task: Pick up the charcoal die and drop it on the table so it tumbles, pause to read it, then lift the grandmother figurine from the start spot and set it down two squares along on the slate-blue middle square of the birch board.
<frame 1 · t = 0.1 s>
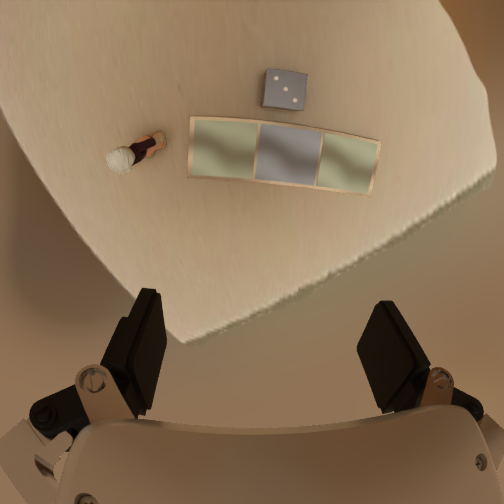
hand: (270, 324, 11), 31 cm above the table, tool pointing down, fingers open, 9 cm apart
board: (287, 153, 37), on the table
die: (280, 92, 33), on the table
grandmother figurine: (151, 146, 36), on the table
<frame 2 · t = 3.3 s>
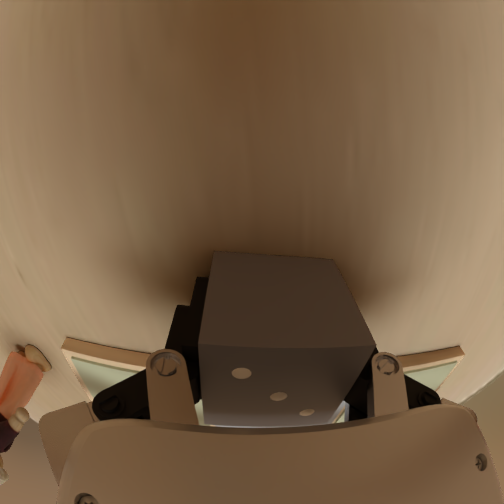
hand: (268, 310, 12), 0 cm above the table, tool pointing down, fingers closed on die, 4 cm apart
board: (278, 402, 17), on the table
die: (267, 303, 12), on the table, touching gripper
grandmother figurine: (32, 358, 15), on the table
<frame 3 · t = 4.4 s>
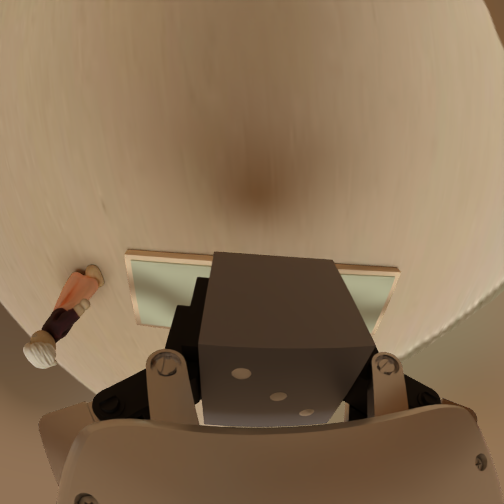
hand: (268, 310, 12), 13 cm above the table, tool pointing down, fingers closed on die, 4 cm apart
board: (265, 297, 28), on the table
die: (267, 303, 12), point 13 cm above the table, touching gripper
grandmother figurine: (87, 280, 27), on the table
when the fingers open (10 cm above the table, at t = 5.6 s): die drops 10 cm, on the table.
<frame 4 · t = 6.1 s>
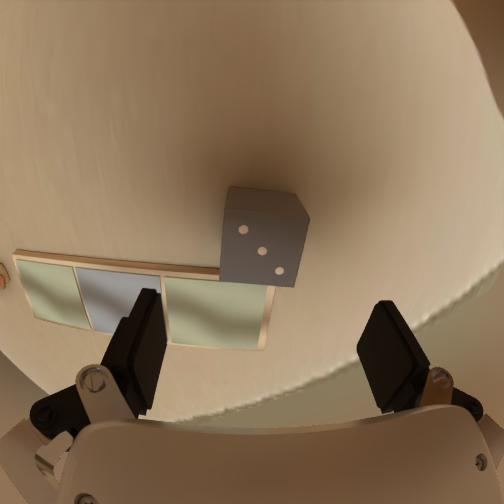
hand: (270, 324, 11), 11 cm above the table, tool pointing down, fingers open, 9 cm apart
board: (125, 300, 24), on the table
die: (258, 220, 21), on the table
grandmother figurine: (0, 276, 23), on the table
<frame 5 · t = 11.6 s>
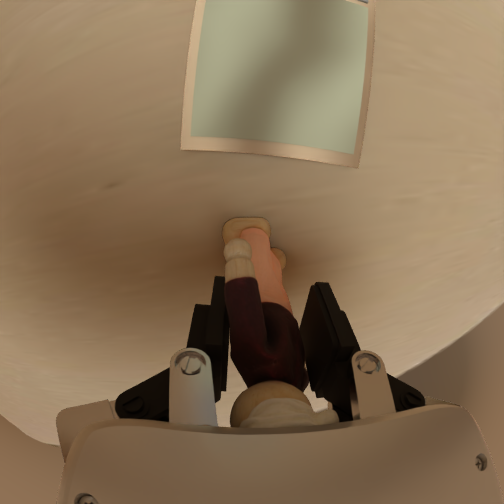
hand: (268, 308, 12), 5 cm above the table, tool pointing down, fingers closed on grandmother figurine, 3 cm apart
grandmother figurine: (258, 254, 17), on the table, touching gripper
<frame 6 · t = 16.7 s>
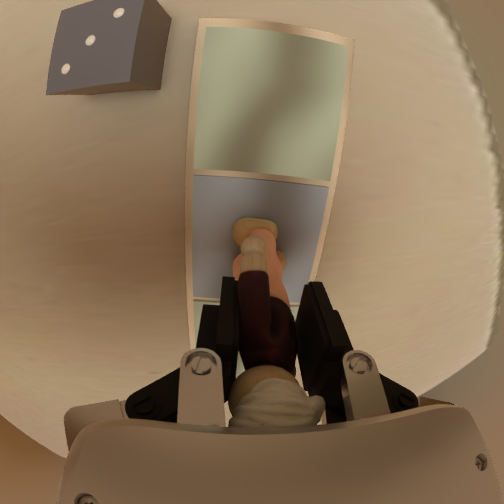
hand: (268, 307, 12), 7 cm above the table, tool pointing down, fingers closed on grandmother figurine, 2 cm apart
board: (254, 238, 18), on the table
die: (128, 55, 12), on the table
grandmother figurine: (262, 253, 18), point 1 cm above the table, touching gripper
when the fingers open (7 cm above the table, at t = 16.9 s): grandmother figurine stays where it is, resting on board.
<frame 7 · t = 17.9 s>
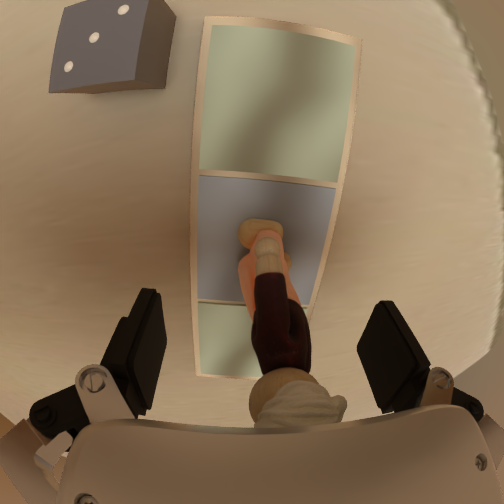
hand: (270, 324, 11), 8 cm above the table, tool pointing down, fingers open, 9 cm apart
board: (260, 240, 18), on the table
die: (132, 53, 12), on the table
grandmother figurine: (266, 255, 18), point 1 cm above the table, touching board
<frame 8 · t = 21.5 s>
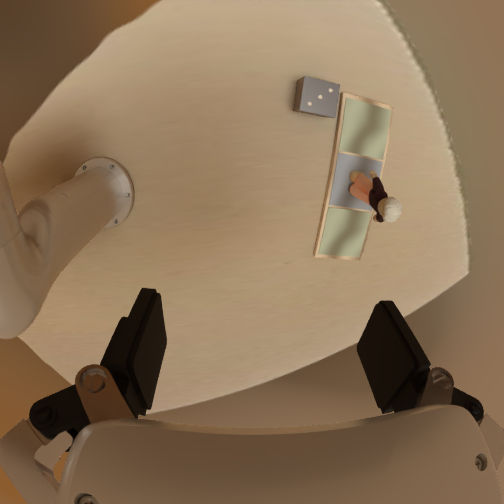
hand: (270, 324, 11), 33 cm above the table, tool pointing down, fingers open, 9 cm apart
board: (353, 181, 42), on the table
die: (311, 98, 35), on the table
grandmother figurine: (357, 186, 41), point 1 cm above the table, touching board
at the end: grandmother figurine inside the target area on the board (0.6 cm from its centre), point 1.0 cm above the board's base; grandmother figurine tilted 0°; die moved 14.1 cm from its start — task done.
